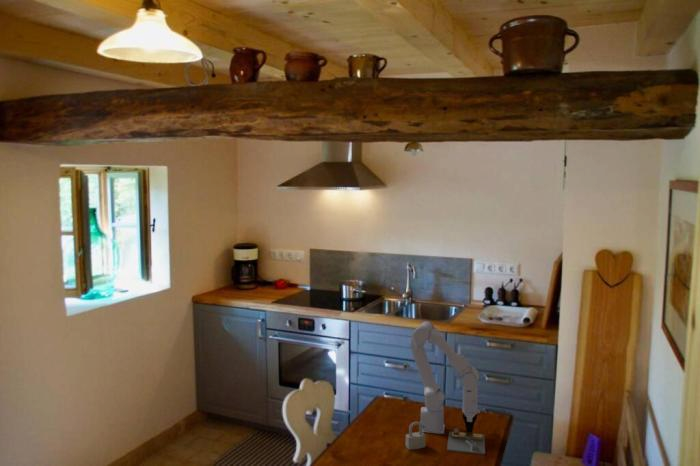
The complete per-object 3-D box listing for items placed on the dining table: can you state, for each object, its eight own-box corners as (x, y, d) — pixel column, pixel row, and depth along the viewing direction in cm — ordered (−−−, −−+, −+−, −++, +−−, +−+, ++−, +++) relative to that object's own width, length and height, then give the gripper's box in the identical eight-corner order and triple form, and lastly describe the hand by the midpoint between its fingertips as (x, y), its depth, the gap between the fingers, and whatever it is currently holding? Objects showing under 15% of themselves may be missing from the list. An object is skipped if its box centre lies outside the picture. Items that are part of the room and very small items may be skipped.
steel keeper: (465, 445, 218) (465, 439, 218) (469, 444, 219) (470, 438, 218) (471, 450, 214) (471, 444, 214) (476, 449, 215) (476, 443, 215)
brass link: (451, 437, 224) (451, 435, 224) (451, 433, 228) (451, 431, 228) (482, 440, 222) (482, 438, 222) (482, 436, 225) (482, 433, 225)
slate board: (447, 450, 215) (447, 449, 215) (449, 432, 230) (449, 431, 230) (485, 454, 212) (485, 453, 212) (484, 436, 227) (484, 434, 227)
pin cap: (453, 433, 225) (453, 430, 225) (453, 431, 227) (453, 428, 227) (459, 434, 224) (459, 431, 224) (459, 431, 226) (459, 428, 226)
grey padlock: (421, 443, 221) (421, 418, 220) (426, 447, 218) (426, 422, 217) (404, 446, 219) (405, 421, 218) (409, 450, 215) (409, 425, 214)
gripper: (480, 407, 219) (479, 440, 220) (480, 393, 233) (479, 425, 234) (461, 405, 220) (461, 439, 222) (462, 391, 234) (462, 423, 236)
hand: (469, 431), depth 228 cm, fingers closed
